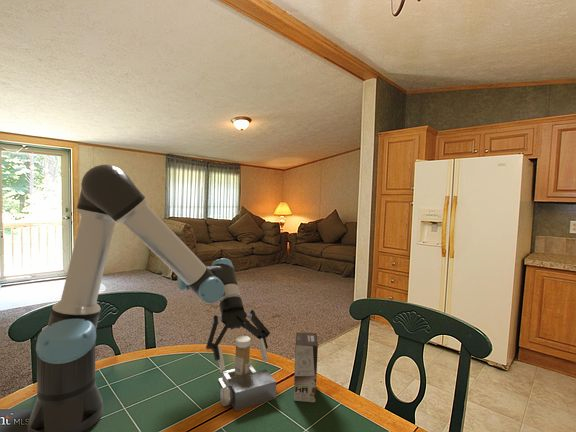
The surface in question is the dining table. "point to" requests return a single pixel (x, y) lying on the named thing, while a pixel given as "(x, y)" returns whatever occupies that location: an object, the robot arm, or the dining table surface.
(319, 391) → the dining table surface
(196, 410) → the dining table surface
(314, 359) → the coffee box
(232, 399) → the grey open drawer box
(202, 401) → the dining table surface
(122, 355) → the dining table surface
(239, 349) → the sprinkles bottle
